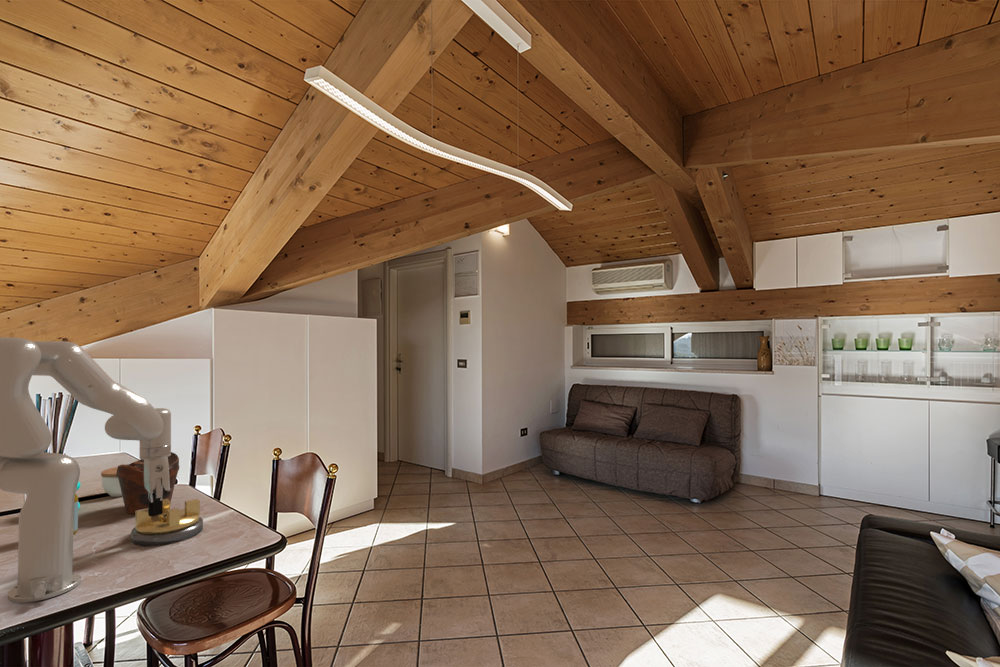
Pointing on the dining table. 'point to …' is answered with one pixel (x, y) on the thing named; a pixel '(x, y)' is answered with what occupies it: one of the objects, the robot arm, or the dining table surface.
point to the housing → (166, 536)
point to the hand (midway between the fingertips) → (155, 514)
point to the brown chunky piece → (142, 483)
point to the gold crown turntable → (167, 519)
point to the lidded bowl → (111, 482)
